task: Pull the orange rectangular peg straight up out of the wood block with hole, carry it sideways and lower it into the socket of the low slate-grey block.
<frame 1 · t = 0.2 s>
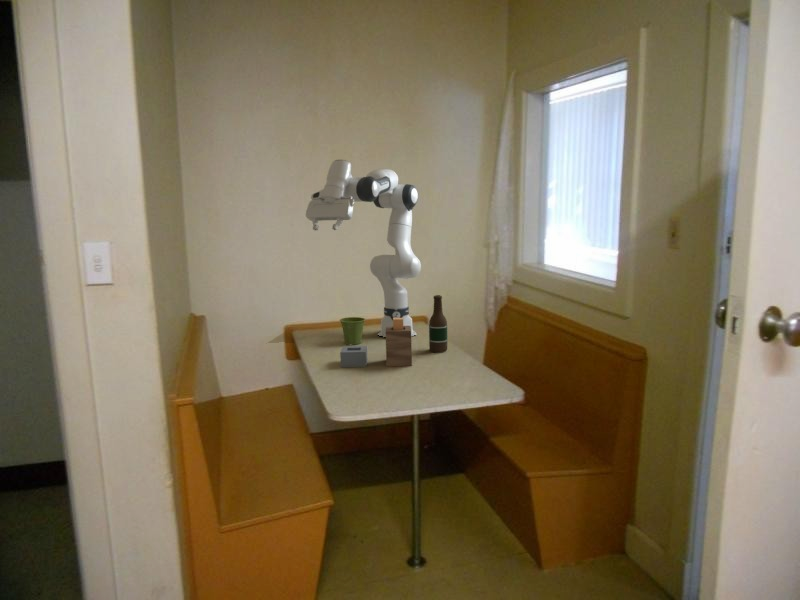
hand: (324, 229, 230), 54 cm above the table, tool tilted 30°, fingers open, 8 cm apart
wood block with hole: (399, 362, 240), on the table
low socket: (354, 363, 240), on the table
plant pot: (353, 343, 275), on the table
peg: (398, 338, 239), point 10 cm above the table, touching wood block with hole
beer bottle: (438, 350, 258), on the table
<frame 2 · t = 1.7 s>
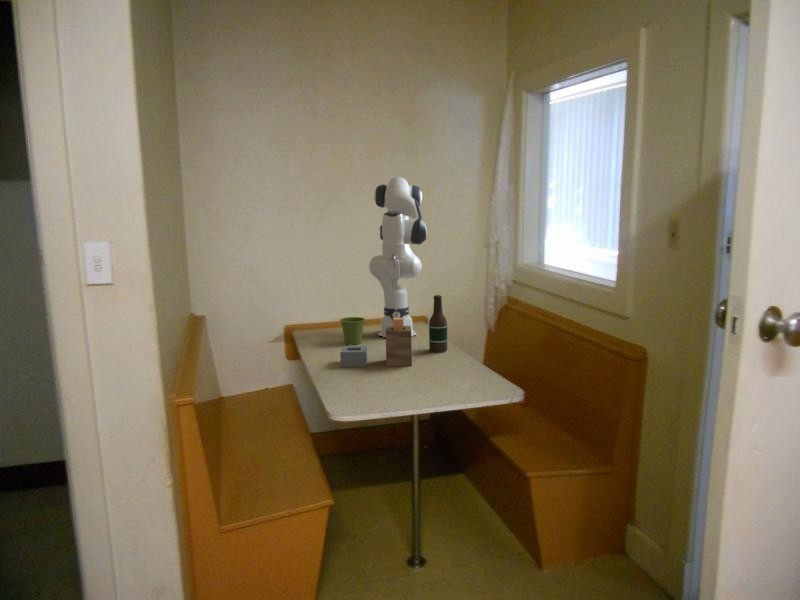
hand: (394, 288, 235), 30 cm above the table, tool pointing down, fingers open, 8 cm apart
nothing on the table moved.
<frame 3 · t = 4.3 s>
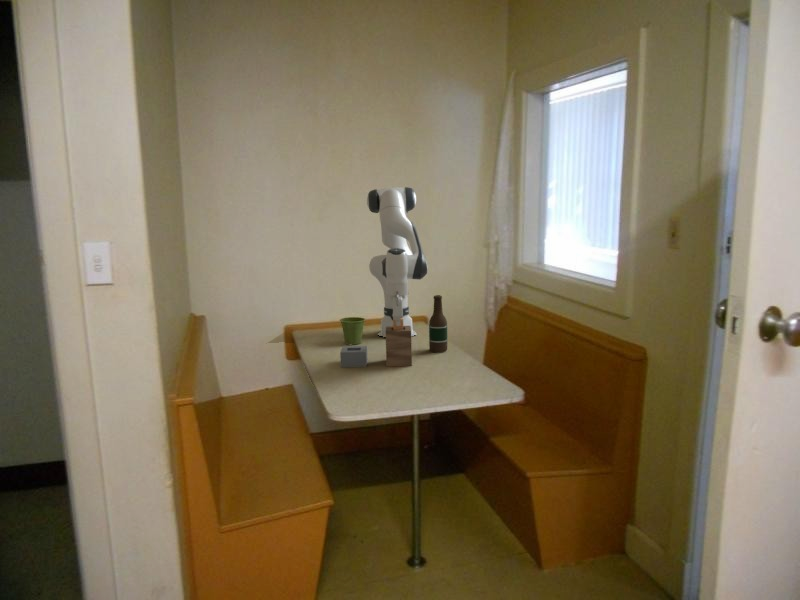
hand: (398, 324, 238), 16 cm above the table, tool pointing down, fingers closed on peg, 3 cm apart
peg: (398, 338, 239), point 10 cm above the table, touching gripper, wood block with hole
everything else where it was.
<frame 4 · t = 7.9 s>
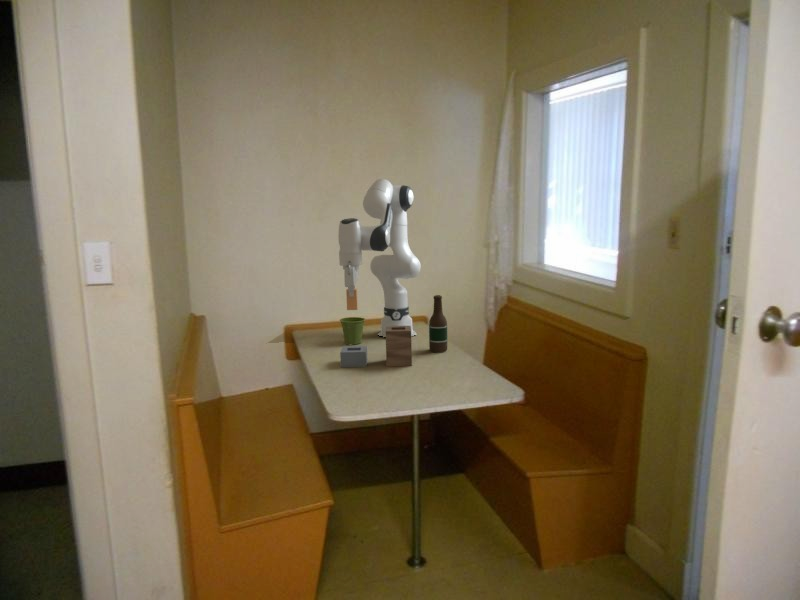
hand: (351, 295, 236), 28 cm above the table, tool pointing down, fingers closed on peg, 3 cm apart
peg: (352, 309, 237), point 22 cm above the table, touching gripper
everything else where it was.
when the fingers open (9 cm above the table, at t = 11.4 s): peg stays where it is, resting on low socket.
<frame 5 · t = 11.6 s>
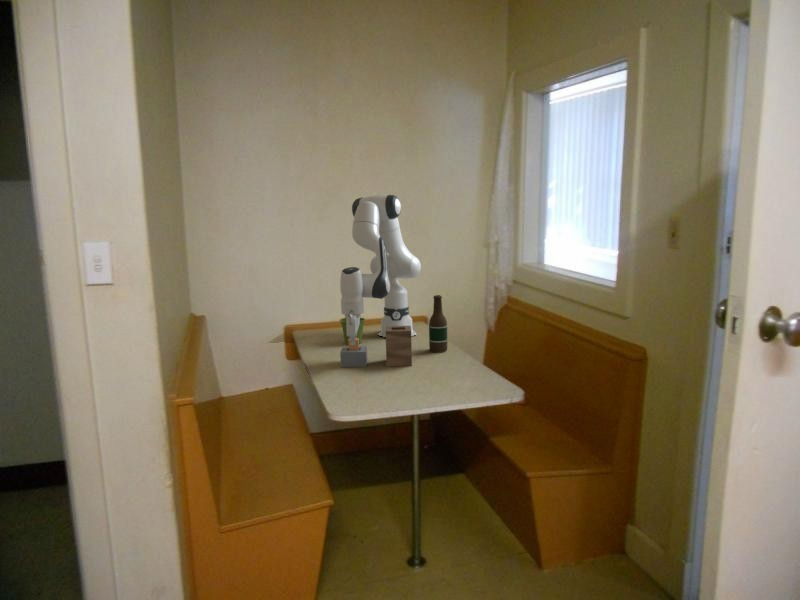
hand: (353, 342, 239), 9 cm above the table, tool pointing down, fingers open, 5 cm apart
peg: (354, 358, 240), point 2 cm above the table, touching low socket
everything else where it was.
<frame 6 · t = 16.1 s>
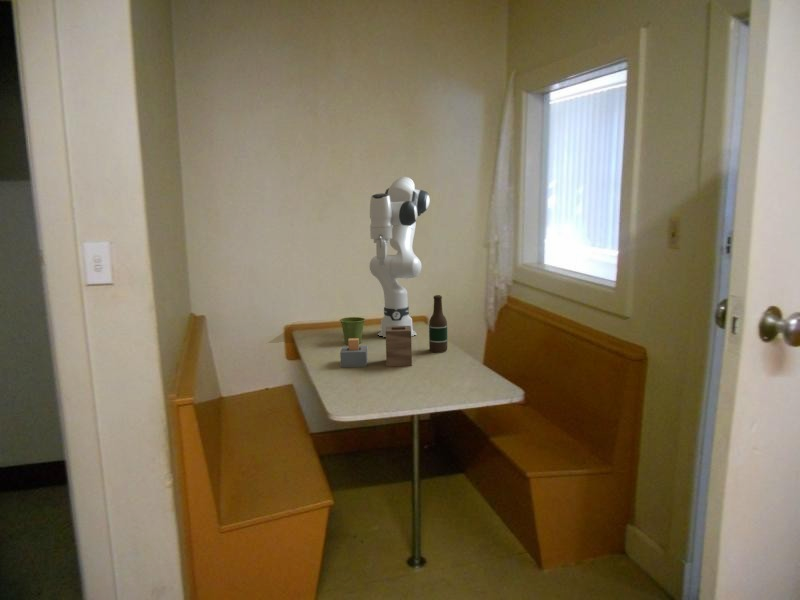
hand: (382, 268, 244), 37 cm above the table, tool pointing down, fingers open, 8 cm apart
nothing on the table moved.
at the end: peg 0.1 cm off-centre on the low socket, point 2.0 cm above the low socket's base; peg tilted 0°; the gripper is holding nothing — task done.
